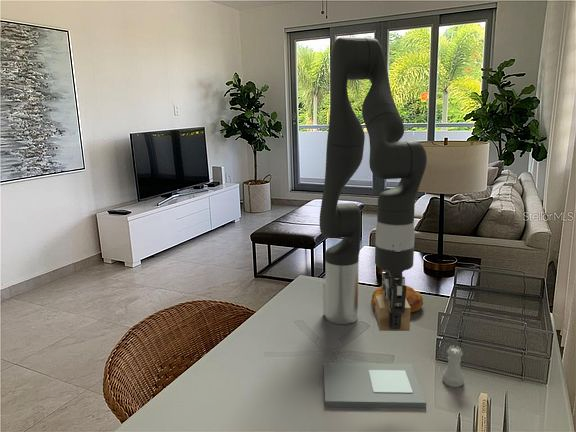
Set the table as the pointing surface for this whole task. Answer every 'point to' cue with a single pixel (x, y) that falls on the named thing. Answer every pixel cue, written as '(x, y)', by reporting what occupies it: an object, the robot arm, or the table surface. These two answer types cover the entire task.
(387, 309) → the walnut block
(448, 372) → the rook chess piece
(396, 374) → the board
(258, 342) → the table surface
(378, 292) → the croissant
